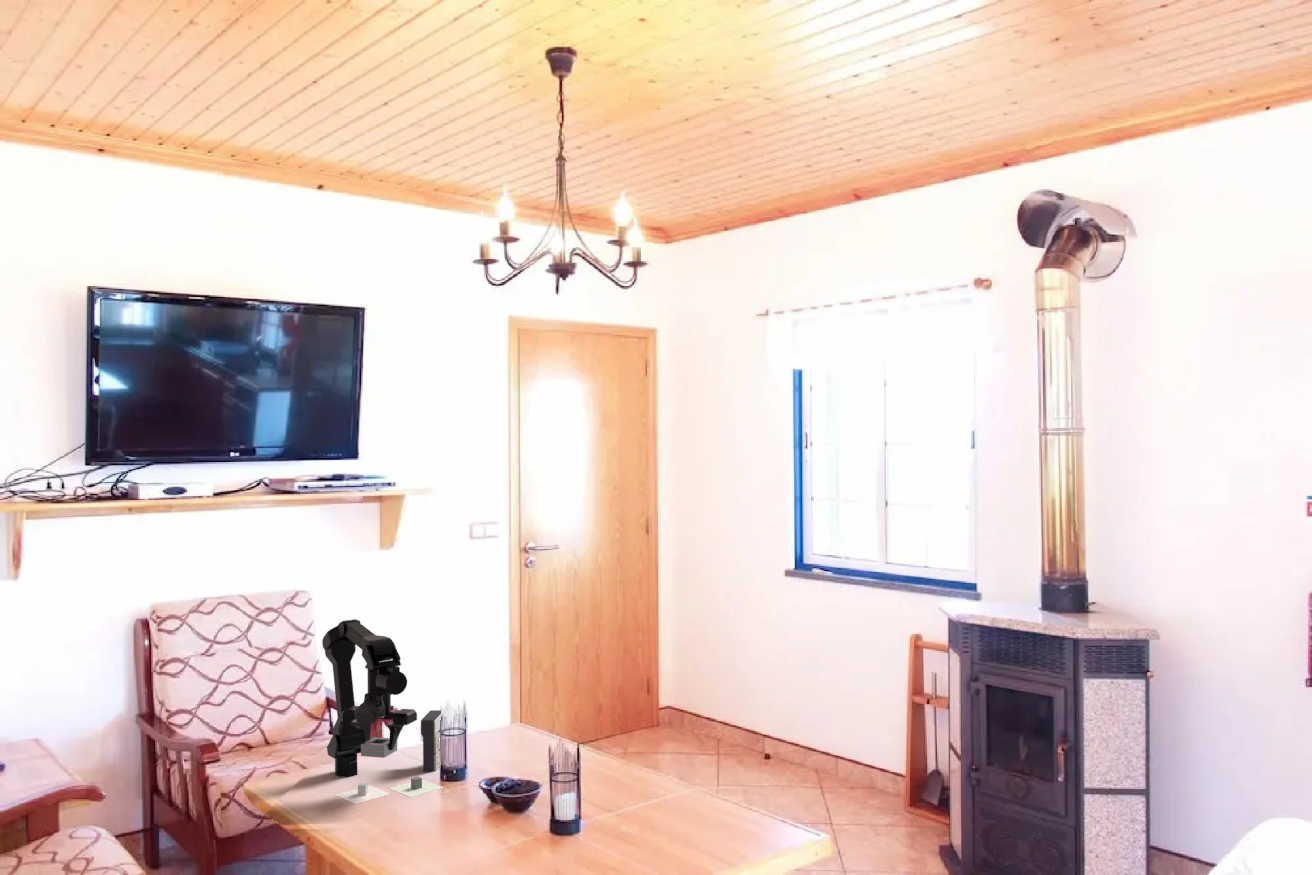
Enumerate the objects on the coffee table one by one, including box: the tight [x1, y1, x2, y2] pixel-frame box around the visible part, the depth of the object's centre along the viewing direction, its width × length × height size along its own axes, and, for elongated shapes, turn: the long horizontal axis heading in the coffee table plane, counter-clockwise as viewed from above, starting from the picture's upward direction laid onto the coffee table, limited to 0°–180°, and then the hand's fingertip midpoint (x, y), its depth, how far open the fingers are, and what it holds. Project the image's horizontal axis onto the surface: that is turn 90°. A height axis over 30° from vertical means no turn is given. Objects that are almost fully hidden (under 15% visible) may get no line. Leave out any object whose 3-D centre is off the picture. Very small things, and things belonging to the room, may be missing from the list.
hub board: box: [388, 776, 445, 798], centre depth 263 cm, size 10×10×4 cm
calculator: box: [420, 709, 441, 773], centre depth 282 cm, size 11×4×15 cm, turn 179°
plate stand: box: [335, 782, 391, 805], centre depth 258 cm, size 10×10×4 cm
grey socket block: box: [360, 736, 398, 759], centre depth 260 cm, size 7×7×3 cm
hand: (379, 748), depth 260 cm, fingers closed on grey socket block, 7 cm apart
